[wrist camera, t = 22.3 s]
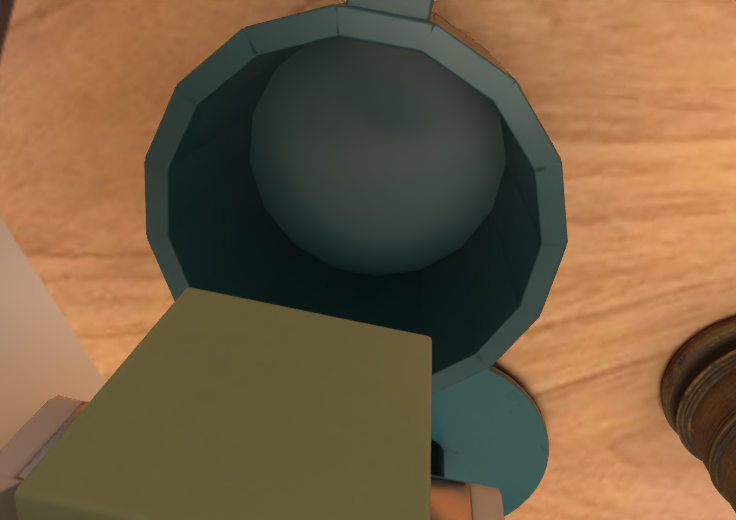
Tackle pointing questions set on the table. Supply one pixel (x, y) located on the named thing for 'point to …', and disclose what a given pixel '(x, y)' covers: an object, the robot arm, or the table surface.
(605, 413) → the table surface
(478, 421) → the lid
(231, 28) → the table surface
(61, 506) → the block
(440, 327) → the pot
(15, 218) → the table surface
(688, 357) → the container
